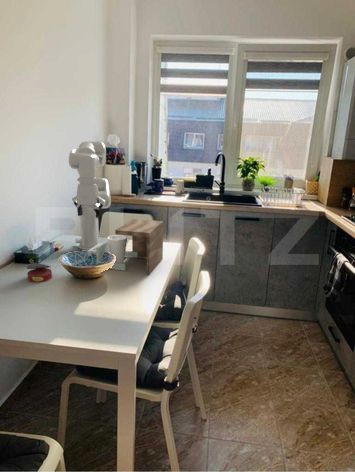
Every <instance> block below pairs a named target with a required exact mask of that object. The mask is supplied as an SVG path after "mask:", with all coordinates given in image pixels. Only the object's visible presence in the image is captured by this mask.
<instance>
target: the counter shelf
mask: <svg viewBox="0 0 355 472" xmlns="http://www.w3.org/2000/svg"><path fill="white" fill-rule="evenodd" d="M114 232H115V235H122V236H131V240H132V242H131V243H132V245H131V246H132V247H131V249H132V250H131V251H134V252H138V258H139V259H146V275H147V276H150V275H151V274H152V273H153V271H155V269H156V268H157V267H158V265H159V264H160V263H161V262H162V260H163V259H164V258H163V255H164V254H163V253H164V252H163V251H164V250H163V249H164V248H163V247H164V221H163V220H149V219H138V218H137V219H136V218H132V219H130V221H127V222H126V223H124V224H123V225H121V226H120V227H118V228H116V229H115V231H114Z"/></svg>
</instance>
